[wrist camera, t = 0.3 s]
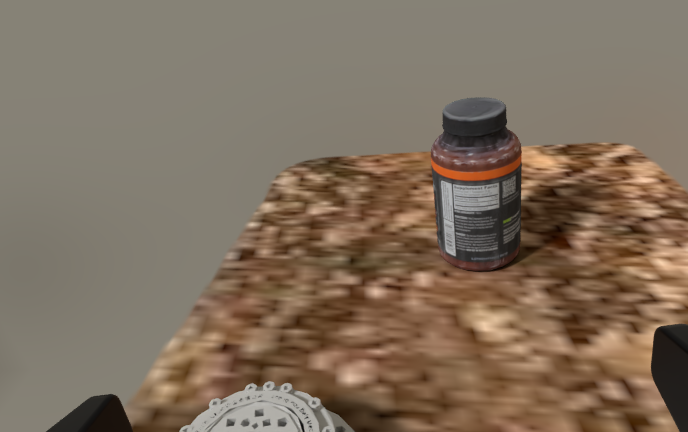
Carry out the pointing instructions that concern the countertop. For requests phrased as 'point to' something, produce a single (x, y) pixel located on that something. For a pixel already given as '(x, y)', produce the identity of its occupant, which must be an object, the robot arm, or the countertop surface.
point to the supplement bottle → (477, 185)
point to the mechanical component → (268, 412)
